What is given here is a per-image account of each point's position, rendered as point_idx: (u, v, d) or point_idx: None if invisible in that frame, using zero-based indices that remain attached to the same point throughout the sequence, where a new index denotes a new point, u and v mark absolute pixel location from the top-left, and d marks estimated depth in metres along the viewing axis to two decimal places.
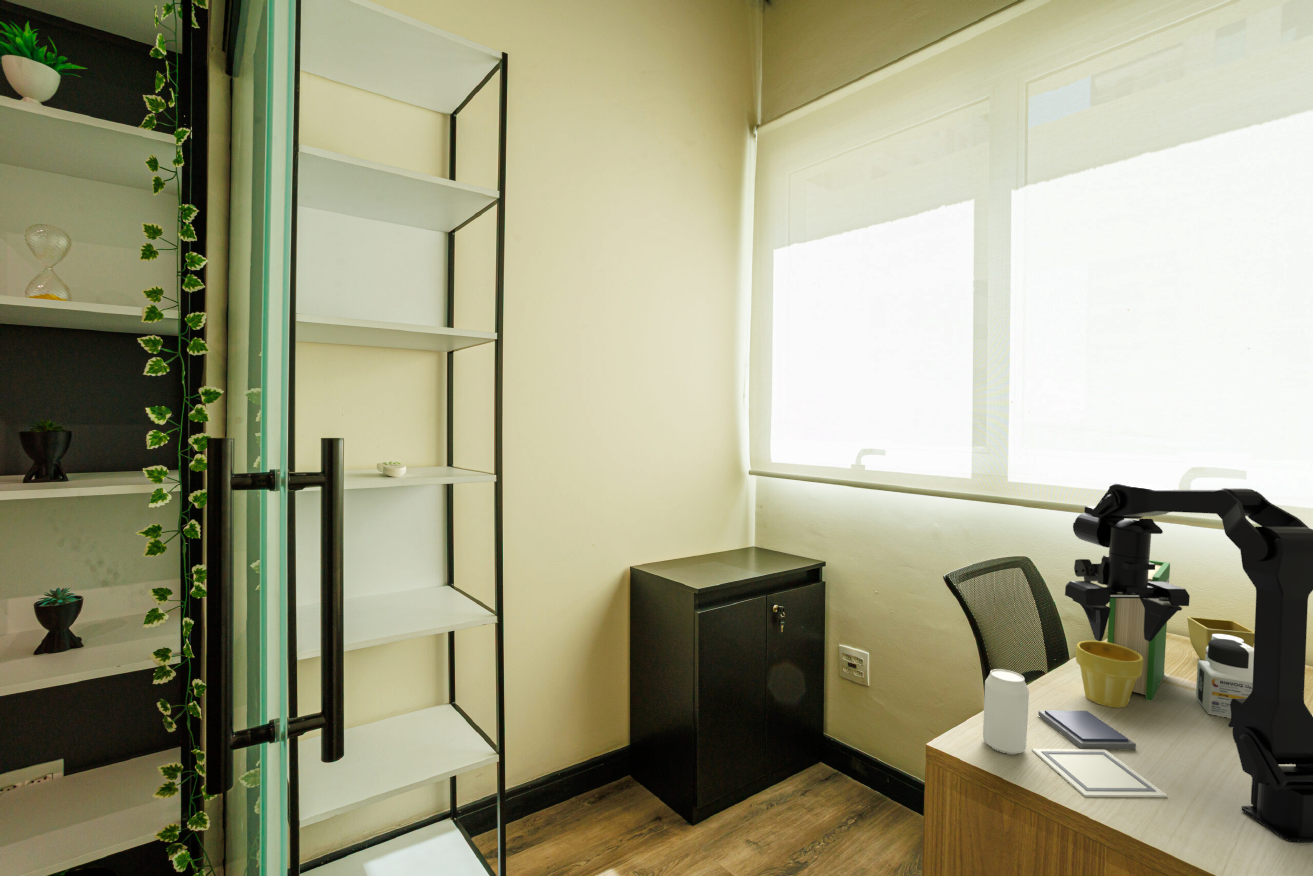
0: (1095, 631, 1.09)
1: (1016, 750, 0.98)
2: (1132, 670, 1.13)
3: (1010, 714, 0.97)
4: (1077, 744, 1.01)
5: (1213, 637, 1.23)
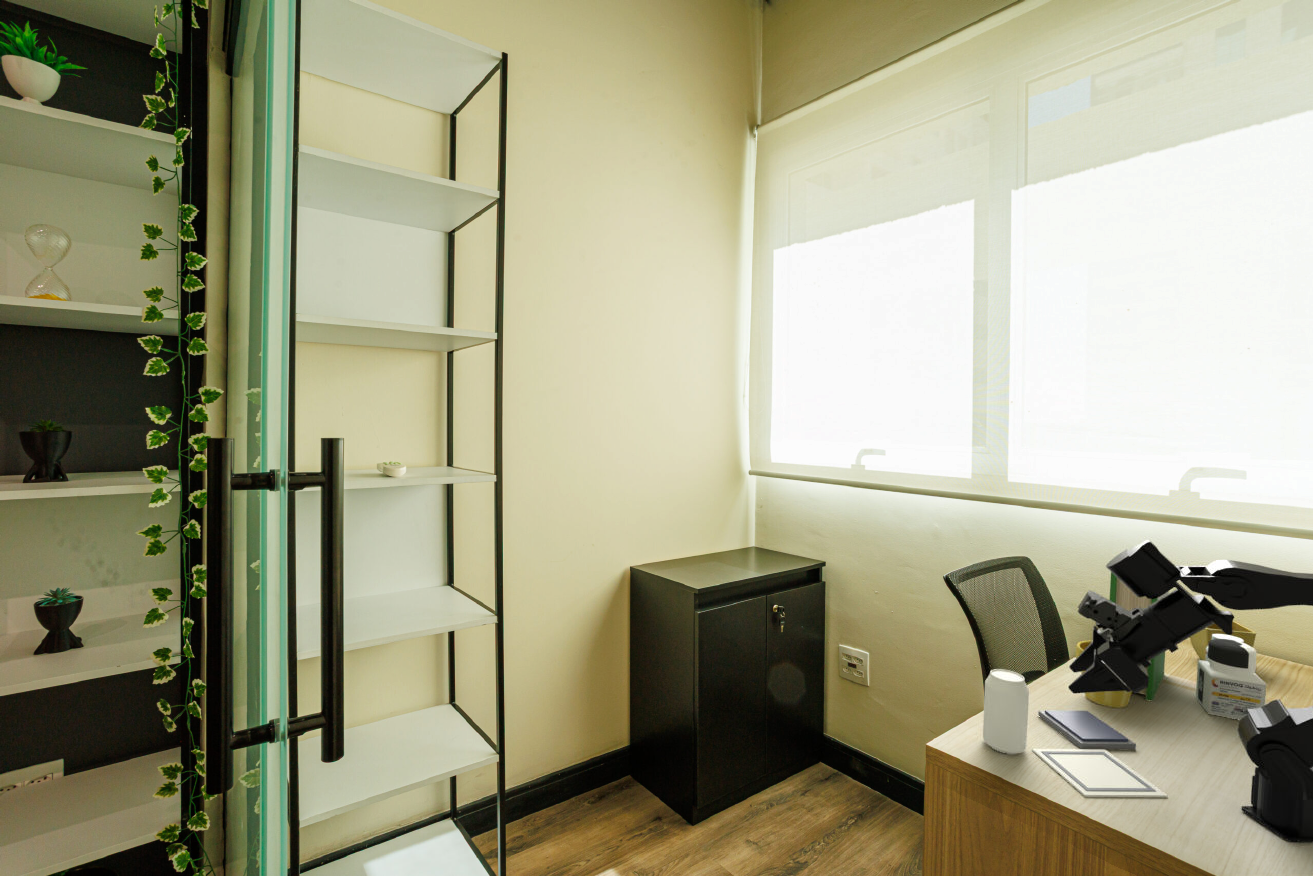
0: (1083, 687, 0.90)
1: (1016, 750, 0.98)
2: None
3: (1010, 714, 0.97)
4: (1077, 744, 1.01)
5: (1213, 637, 1.23)
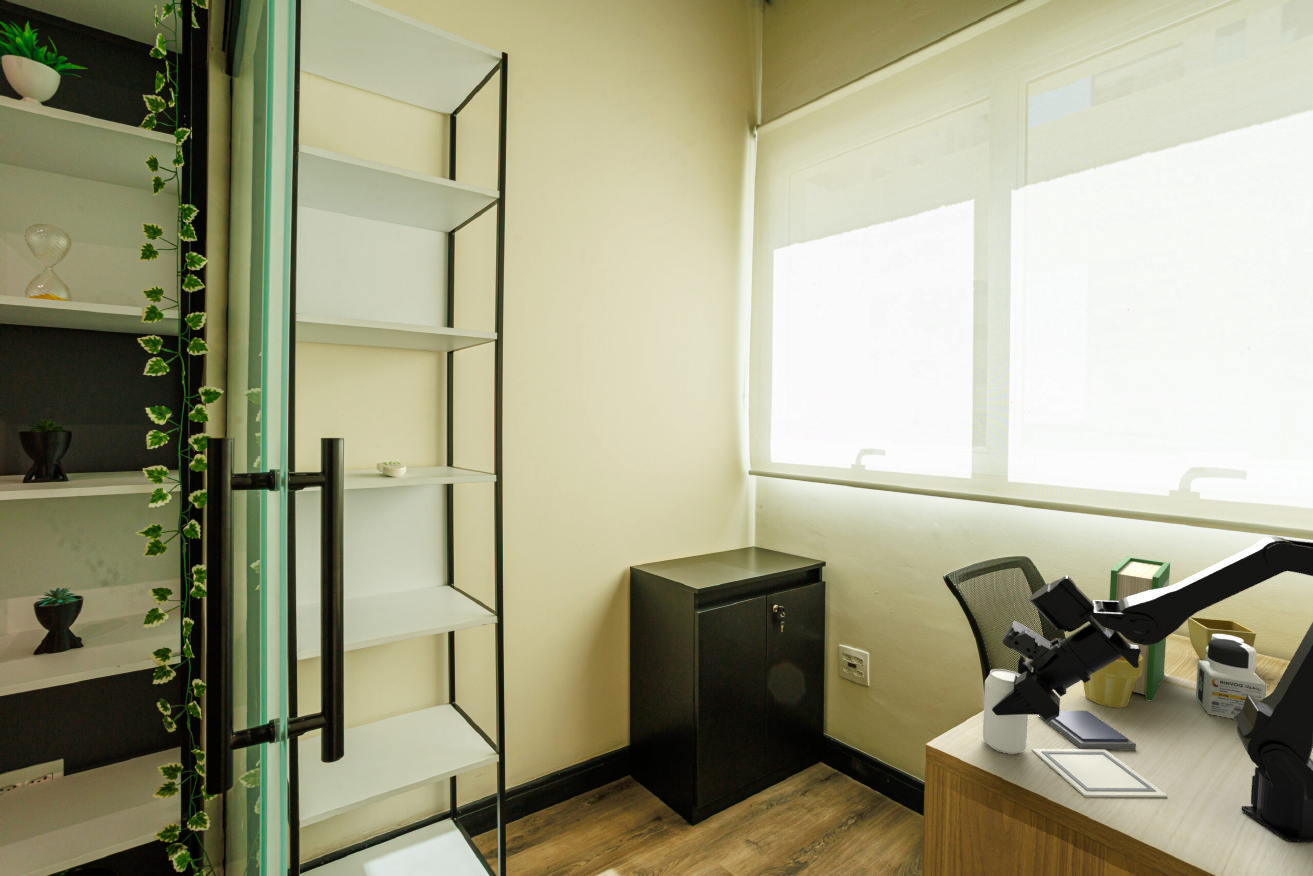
0: (1004, 709, 0.97)
1: (1016, 750, 0.98)
2: (1132, 670, 1.13)
3: None
4: (1077, 744, 1.01)
5: (1213, 637, 1.23)
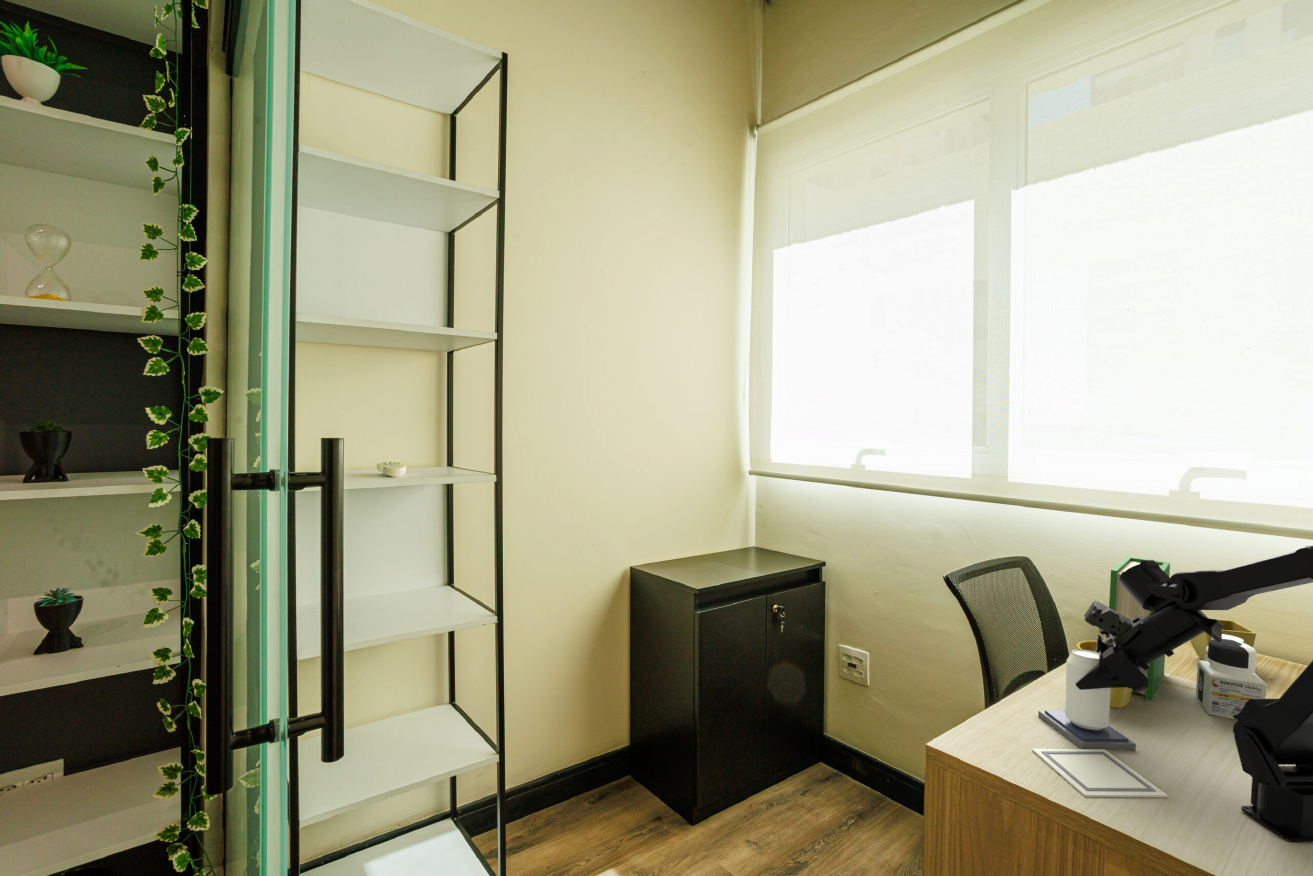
0: (1088, 684, 1.02)
1: (1101, 725, 1.02)
2: None
3: (1095, 690, 1.02)
4: (1077, 744, 1.01)
5: None
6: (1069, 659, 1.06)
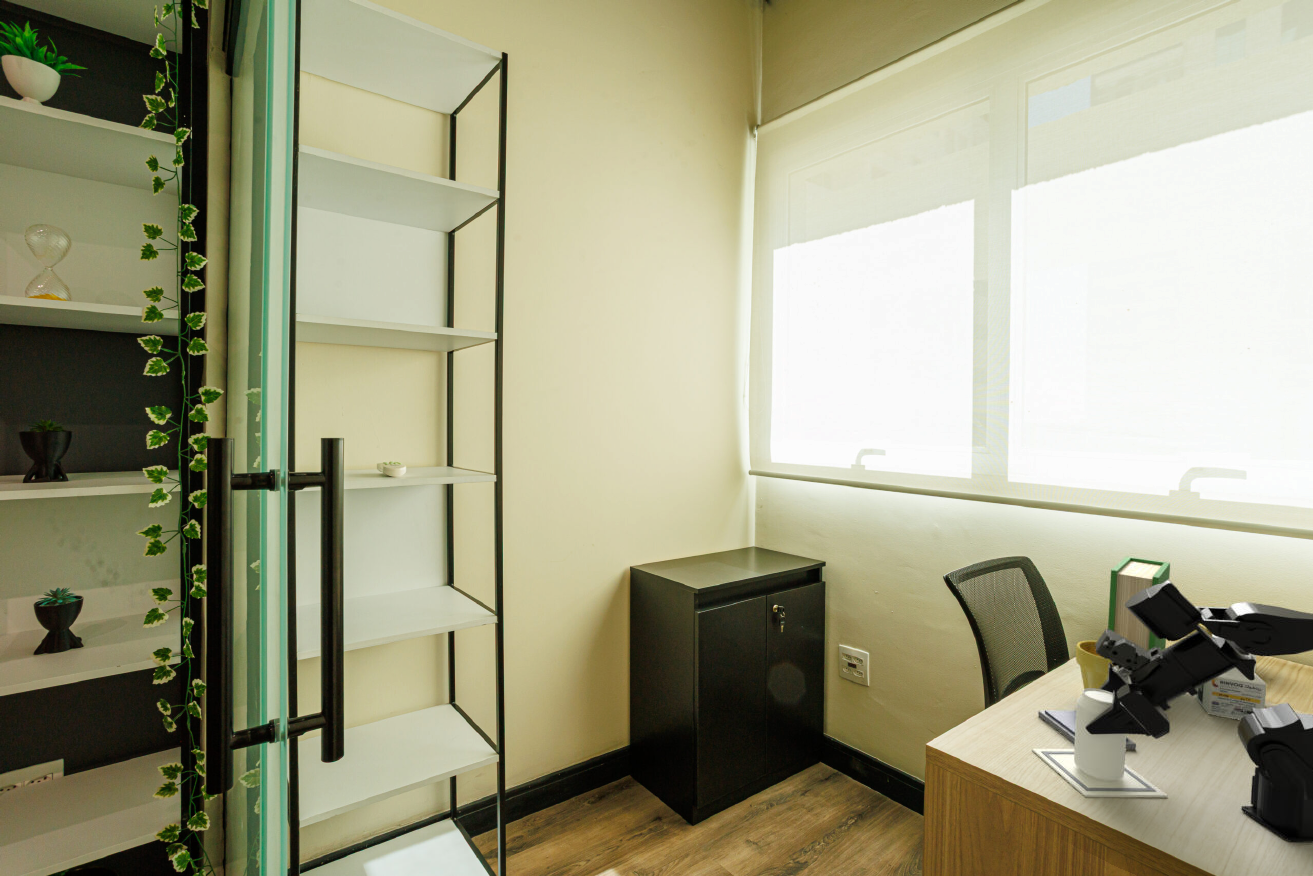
0: (1100, 728, 0.89)
1: (1115, 777, 0.90)
2: None
3: (1109, 738, 0.90)
4: None
5: (1213, 637, 1.23)
6: (1080, 701, 0.94)
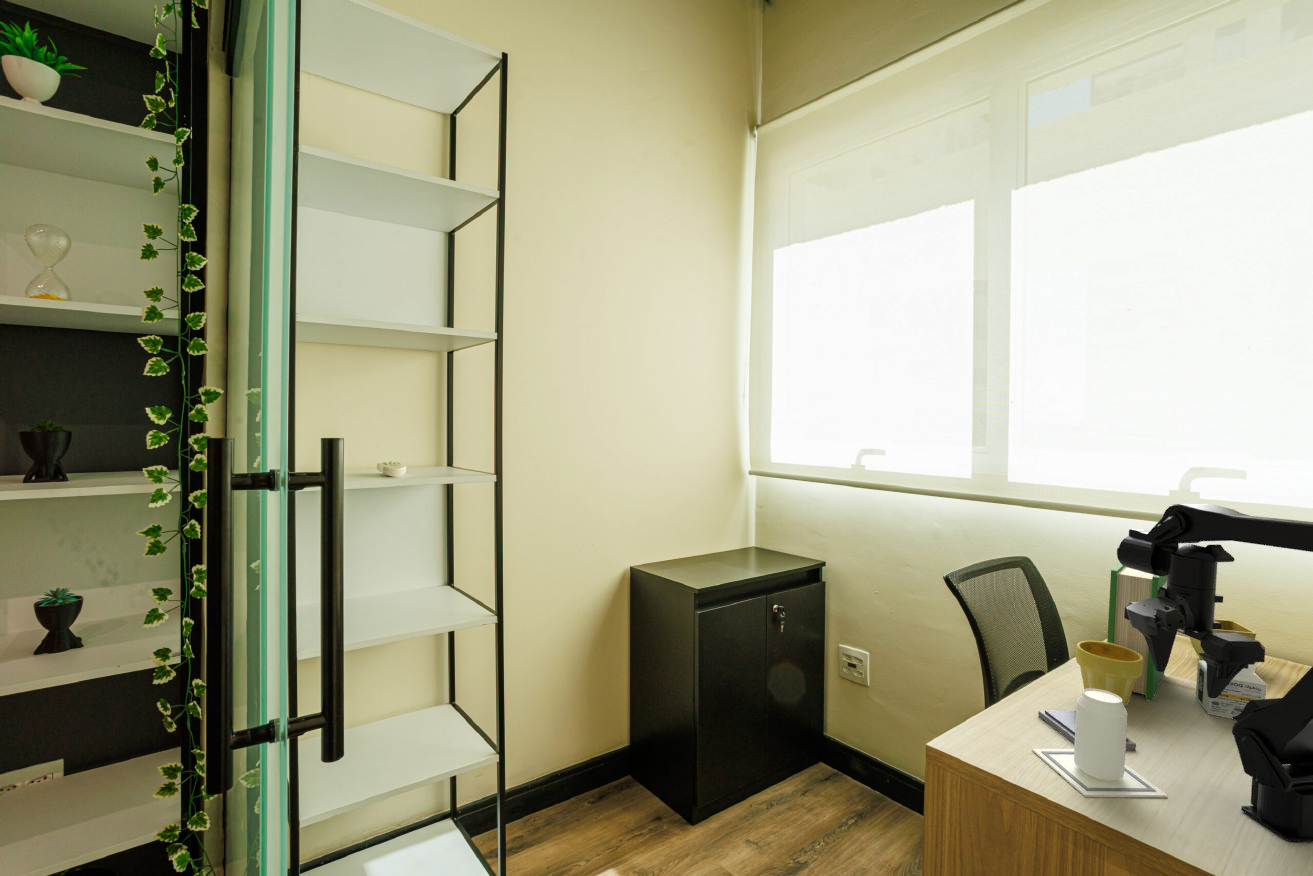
0: (1219, 688, 0.90)
1: (1115, 777, 0.90)
2: (1132, 670, 1.13)
3: (1109, 738, 0.90)
4: None
5: None
6: (1080, 701, 0.94)
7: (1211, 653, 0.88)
